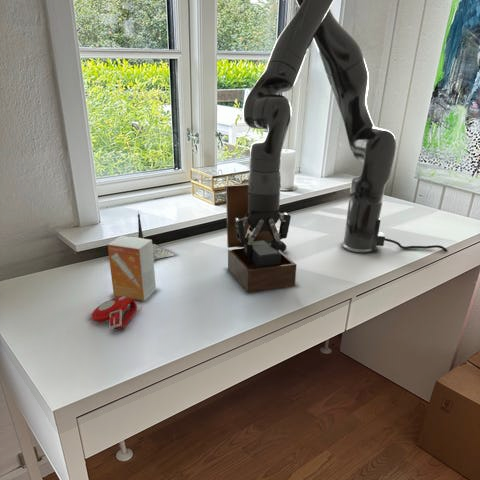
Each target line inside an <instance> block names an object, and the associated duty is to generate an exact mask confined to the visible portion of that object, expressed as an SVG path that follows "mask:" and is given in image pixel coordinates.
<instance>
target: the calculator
mask: <svg viewBox="0 0 480 480" xmlns="http://www.w3.org/2000/svg"><path fill="white" fill-rule="evenodd" d="M252 245H253V251H252V259H250V260H251V261H252V262H253V263H254V264H255V265H256V266H257V267H265V266H272V265H279V264H281V253H280V252H279V251H278V250H276V249H275V248H274V247H273V246H272V245H271V244H269V243H268V242H267V241H266V240H260V241H253V242H252ZM243 247H244V254H245V244H244V246H243Z"/></svg>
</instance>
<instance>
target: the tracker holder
mask: <svg viewBox="0 0 480 480" xmlns="http://www.w3.org/2000/svg"><path fill="white" fill-rule="evenodd" d="M128 307H129V309H128ZM127 309H128V311H127V312H126V310H127ZM137 311H138V305H137V303H136V301H135V299H133V298H129V297H125V296H115V297H113V298H111V299H109V300H107V301H105V302H103V303H101V304H100V305H98V306H97V307H96V308H95V309H94V310H93V311H92V312H91V318H92V321H93V322H95V323H104V322H108V321H109V324H108V325H109V327H108V328H109V330H115V331H117V330H121V329H123V328H125V327H126V326H127V325H128V324H129V322H130V321H131V319H132V318H133V317H134V315H135V314H136V313H137ZM125 312H126V313H125ZM123 315H124V316H123Z"/></svg>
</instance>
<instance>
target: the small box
mask: <svg viewBox="0 0 480 480" xmlns="http://www.w3.org/2000/svg"><path fill="white" fill-rule="evenodd" d="M152 244H153V239H149V238H144V239H142V238H138V237H137V236H127V235H120V236H118V237H117V238H115V239H113V240H112V241H110V242H109V243H107V251H108V253H107V254H108V259H109V267H110V275H111V283H112V290H113V296H114V297H118V296H125V297H129V298H133V299H134V300H137V301H141V302H145V301H146V300H147V299H148V298H150V297H151V296H152V295H153V293H155V292H156V290H157V287H156V274H155V264H154V263H155V260H154V259H153V247H152Z"/></svg>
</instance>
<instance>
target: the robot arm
mask: <svg viewBox="0 0 480 480" xmlns="http://www.w3.org/2000/svg"><path fill="white" fill-rule="evenodd" d="M334 1H335V0H295V2H296V4H297V6H298V9H297V11H296V12H295V14H294V15H293V17H292V18H291V19H290V21H289V22H288V23H287V25H286V26H285V27H284V28H283V30H282V32H281V33H280V35H279V36H278V38H277V40H276V42H275V43H274V46H273V48H272V51H271V54H270V56H269V59H268V62H267V64H266V67H265V70H264V71H263V73H262V74H261V75H260V77H259V78H258V79H257V81H256V82H255V84H254V86H253V87H252V89H251V90H250V91H249V93H248V95H247V96H246V98H245V100H244V103H243V107H242V117H243V121H244V123H245V124H246V126H248V127H249V128H251V129H256V130H263V131H264V130H265V131H267V134H266V137H265V138H264V139H262V140H256V141H254V142H252V143H251V145H250V147H249V169H248V170H249V172H248V177H247V178H248V179H247V180H248V181H247V184H248V213H247V215H246V217H242V218H239V217H236V218H235V226H236V233H237V239H238V240H239V241H240V242H241V243H242V244H245V255H246V256H247V257H248V258H249V259H252V251H253V245H252V242H253V240H254V238H255V237H256V236H257V234H258V233H259V232H263V231H267V232H268V231H269V232H270V234H271V236H272V238H273V239H271V245H272V246H273V247H274V248H275V249H276V250H278V251H279V241H282V240H283V239H287V237H288V234H289V228H290V223H291V219H292V216H291V215H290V214H289V213H287V212H286V211H284V212H281V213H280V203H281V201H280V200H281V187H282V183H281V182H282V178H281V165H282V164H281V163H282V150H283V147H284V143H285V139H286V136H287V133H288V131H289V127H290V123H291V120H292V115H293V113H292V112H293V111H292V110H293V109H292V105H291V103H290V100H289V99H288V97H286V96H285V95H282V94H283V93H286V92H289V91H291V90H292V89H293V88H294V87H295V85H296V82H297V80H298V77H299V75H300V72H301V69H302V66H303V64H304V61H305V58H306V56H307V54H308V51H309V50H310V49H309V48H310V46H311V44H312V42H314V44H315V46H316V49H317V52H318V54H319V57H320V59H321V62H322V65H323V69H324V72H325V75H326V78H327V80H328V83H329V85H330V88H331V90H332V93H333V96H334V99H335V101H336V104H337V107H338V110H339V112H340V116H341V118H342V120H343V121H342V122H343V125H344V129H345V134H346V136H347V142H348V145H349V149H350V152H351V155H352V156H353V157H354V159H356V160H357V161H358V162H361V163H363V167H362V170H361V174H360V175H355V176H354V177H353V178H352V180H351V184H350V189H349V190H350V191H349V192H350V193H349V197H348V206H347V214H346V220H345V221H346V222H345V227H344V235H343V236H344V237H343V241H342V247H343V248H344V250H347V251H349V252H353V253H358V254H361V253H362V254H364V253H365V254H366V253H375V252H376V251H377V247H384V245H385V242H389V243H393V244H395V245H397V246H398V247H399V248H400V249H402V250H409V249H423V250H424V249H426V250H427V249H434V248H437V249H441V250H443V251H444V252H448V249H447V248H446V247H444V246H443V245H439V244H435V245H434V244H433V245H407V246H403V245H402V244H401V243H400V242H398V241H396V240H394V239H390V238H386V235H385V231H380V226H381V213H382V208H383V201H384V196H385V190H386V186H387V184H388V182H389V180H390V177H391V174H392V169H393V164H394V160H395V156H396V150H397V140H396V137H395V135H394V134H393V133H392V132H391V131H390V130H387V129H384V128H379V127H376V126H375V125H374V123H373V120H372V118H371V115H370V111H369V109H368V104H367V102H368V101H367V98H368V92H369V83H370V79H369V78H370V77H369V76H370V75H369V71H368V67H367V64H366V60H365V57H364V54H363V51H362V48H361V46H360V44H359V43H358V42H357V40H356V39H355V38H354V37H353V36H352V35H351V33H349V32H348V31H347V30H346V29H345V28H344V27H343V25H341V24H340V23H339V21H338V20H337V19H336V17H335V16H334V14H333V13H332V11H331V7H332V5H333V3H334ZM278 221H279V222H280V223H279V229H277V226H276V225H277V223H278ZM246 222H248V223H249V224H250V225H249V227H248V230H247V234H246V236H245V234H244V227H245V224H246Z"/></svg>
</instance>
